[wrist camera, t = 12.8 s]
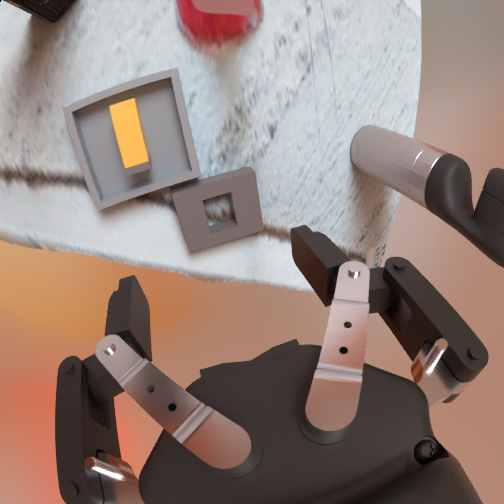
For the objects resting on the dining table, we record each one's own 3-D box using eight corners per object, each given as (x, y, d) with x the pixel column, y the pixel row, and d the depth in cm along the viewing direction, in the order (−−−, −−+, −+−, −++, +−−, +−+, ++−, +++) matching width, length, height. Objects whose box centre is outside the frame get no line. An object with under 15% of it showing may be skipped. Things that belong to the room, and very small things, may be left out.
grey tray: (176, 69, 29) (177, 67, 26) (198, 170, 38) (201, 176, 35) (69, 106, 26) (63, 108, 24) (100, 202, 35) (97, 211, 33)
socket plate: (249, 166, 40) (254, 171, 38) (258, 223, 46) (263, 230, 44) (170, 188, 38) (171, 194, 36) (188, 245, 44) (190, 253, 42)
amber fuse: (134, 97, 25) (150, 168, 30) (136, 97, 29) (151, 160, 34) (109, 106, 24) (127, 176, 30) (115, 104, 28) (130, 166, 33)
